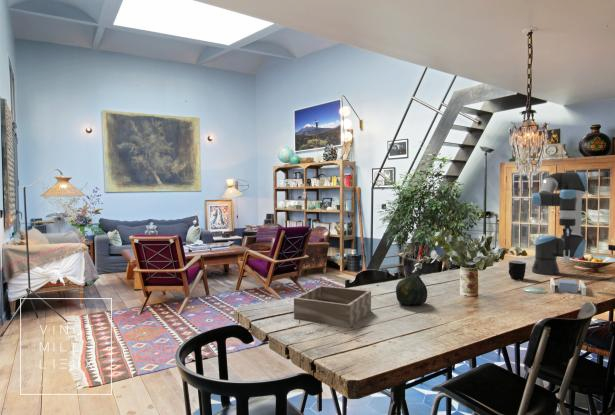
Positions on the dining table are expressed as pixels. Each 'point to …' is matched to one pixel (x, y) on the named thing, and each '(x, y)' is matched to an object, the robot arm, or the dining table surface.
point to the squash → (411, 290)
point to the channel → (581, 287)
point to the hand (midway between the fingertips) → (566, 261)
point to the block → (567, 286)
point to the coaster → (534, 290)
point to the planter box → (332, 306)
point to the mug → (517, 269)
